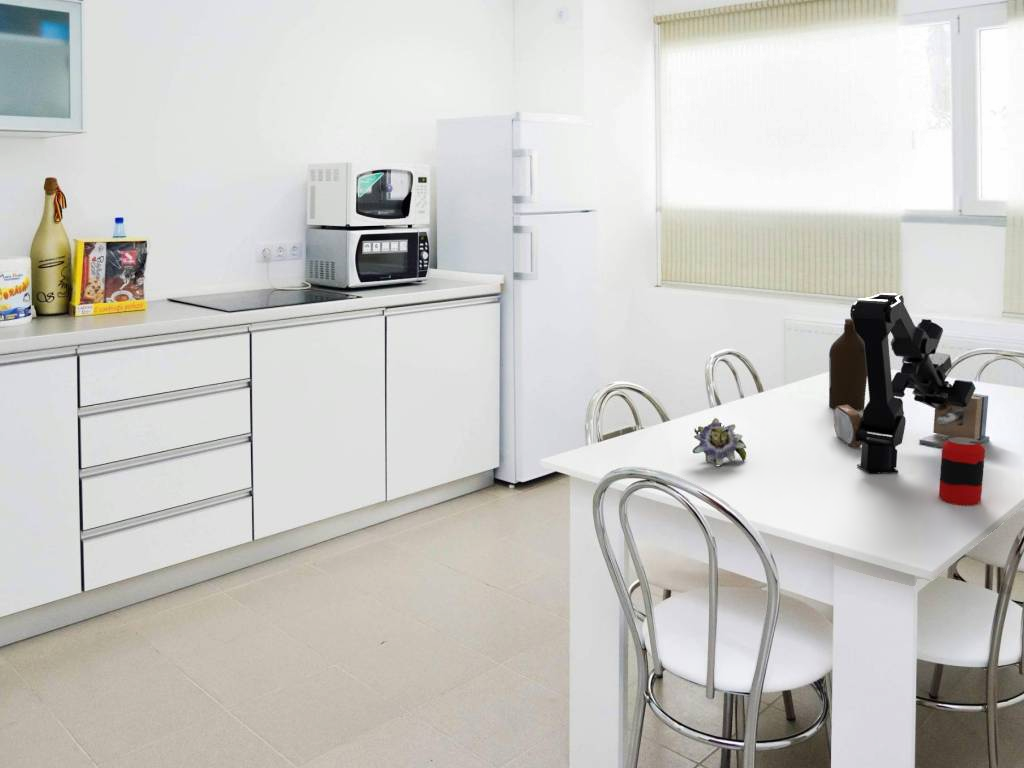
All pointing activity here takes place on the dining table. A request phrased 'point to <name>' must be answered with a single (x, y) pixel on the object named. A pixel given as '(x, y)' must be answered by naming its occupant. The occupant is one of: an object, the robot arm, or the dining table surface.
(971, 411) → the wooden block on rod
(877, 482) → the dining table surface
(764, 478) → the dining table surface
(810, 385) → the dining table surface
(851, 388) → the olive oil
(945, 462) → the soda can
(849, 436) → the tin
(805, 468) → the dining table surface
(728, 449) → the passion flower
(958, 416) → the stand
